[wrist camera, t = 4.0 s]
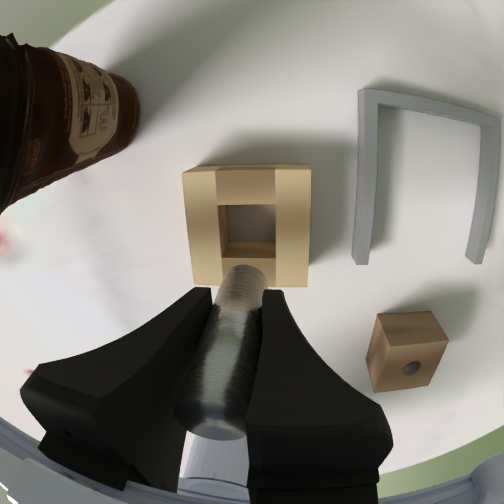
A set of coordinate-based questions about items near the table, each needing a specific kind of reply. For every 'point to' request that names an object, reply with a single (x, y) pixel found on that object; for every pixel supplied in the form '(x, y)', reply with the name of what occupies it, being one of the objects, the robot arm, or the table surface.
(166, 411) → the robot arm
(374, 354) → the walnut block
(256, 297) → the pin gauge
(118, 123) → the coffee cup
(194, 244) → the oak block
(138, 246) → the table surface
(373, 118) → the grey arch piece
